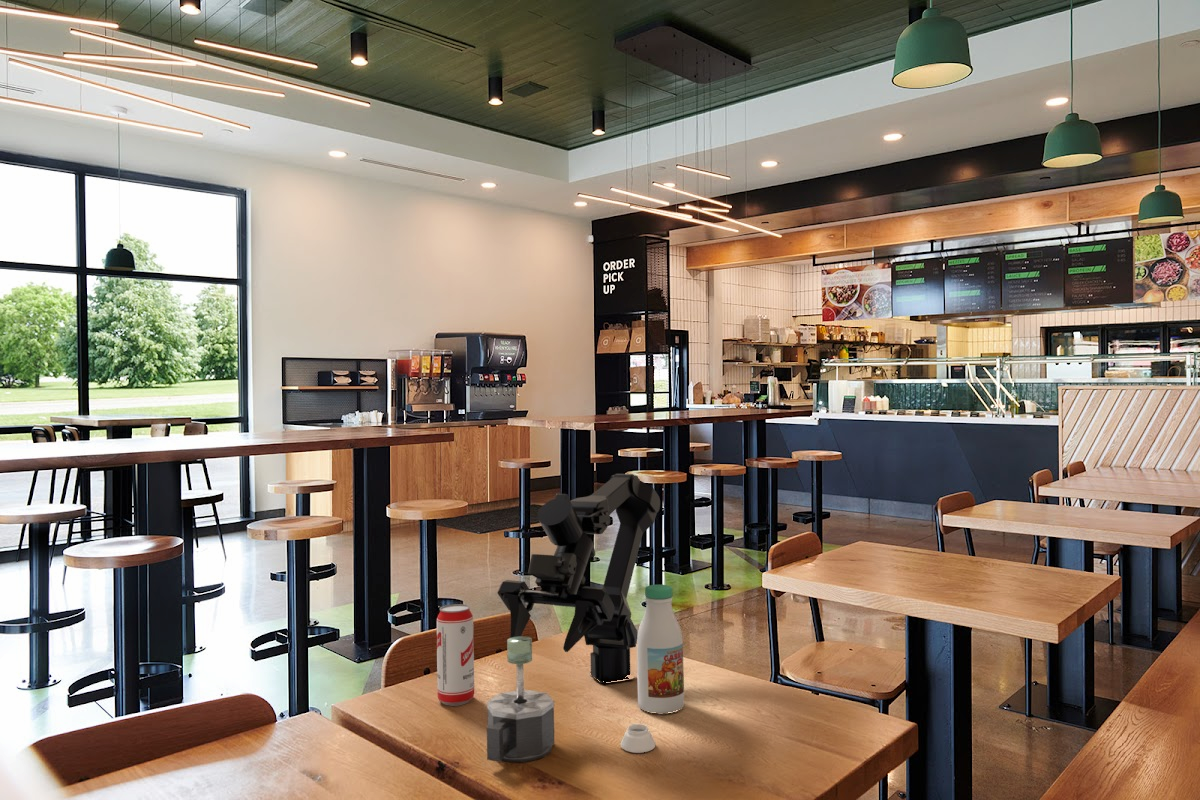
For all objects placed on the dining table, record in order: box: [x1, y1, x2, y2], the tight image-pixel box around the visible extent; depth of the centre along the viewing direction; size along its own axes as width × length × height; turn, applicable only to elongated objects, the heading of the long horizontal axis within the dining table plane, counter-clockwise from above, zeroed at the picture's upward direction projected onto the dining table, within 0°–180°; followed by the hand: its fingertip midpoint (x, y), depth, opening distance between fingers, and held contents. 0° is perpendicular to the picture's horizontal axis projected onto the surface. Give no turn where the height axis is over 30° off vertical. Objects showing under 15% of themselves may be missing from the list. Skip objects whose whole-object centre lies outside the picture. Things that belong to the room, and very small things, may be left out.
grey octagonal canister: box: [486, 689, 555, 764], centre depth 116 cm, size 12×9×7 cm
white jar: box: [620, 723, 656, 754], centre depth 117 cm, size 5×3×5 cm
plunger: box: [506, 635, 533, 704], centre depth 117 cm, size 4×4×10 cm
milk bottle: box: [636, 584, 685, 713], centre depth 133 cm, size 8×8×20 cm
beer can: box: [436, 603, 475, 707], centre depth 138 cm, size 6×6×16 cm
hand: (538, 647), depth 123 cm, fingers open, 9 cm apart
